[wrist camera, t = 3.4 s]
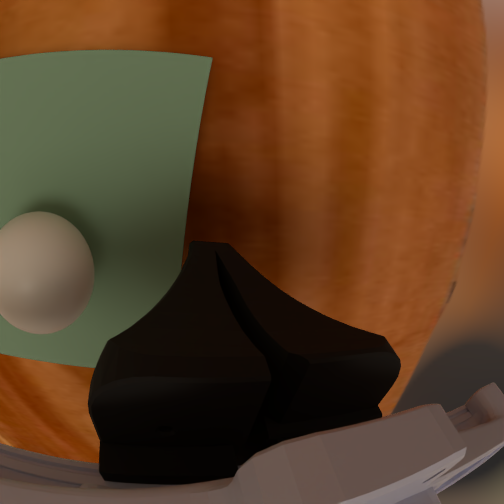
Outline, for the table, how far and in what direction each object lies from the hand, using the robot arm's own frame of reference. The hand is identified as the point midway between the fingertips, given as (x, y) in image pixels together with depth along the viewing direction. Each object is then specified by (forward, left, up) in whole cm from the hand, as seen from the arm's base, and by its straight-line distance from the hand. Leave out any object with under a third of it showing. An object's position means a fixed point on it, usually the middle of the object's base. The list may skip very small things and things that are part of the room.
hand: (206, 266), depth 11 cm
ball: (0, +6, +1) cm, 6 cm away
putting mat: (0, +11, -3) cm, 11 cm away
